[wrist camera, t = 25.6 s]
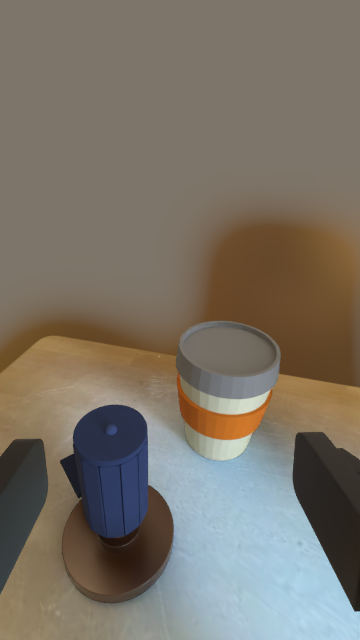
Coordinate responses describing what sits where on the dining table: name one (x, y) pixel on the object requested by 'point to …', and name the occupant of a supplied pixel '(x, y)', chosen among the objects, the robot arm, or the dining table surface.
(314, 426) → the dining table surface
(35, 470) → the robot arm
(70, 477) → the navy lidded canister
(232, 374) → the reusable coffee cup
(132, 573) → the paper towel holder
